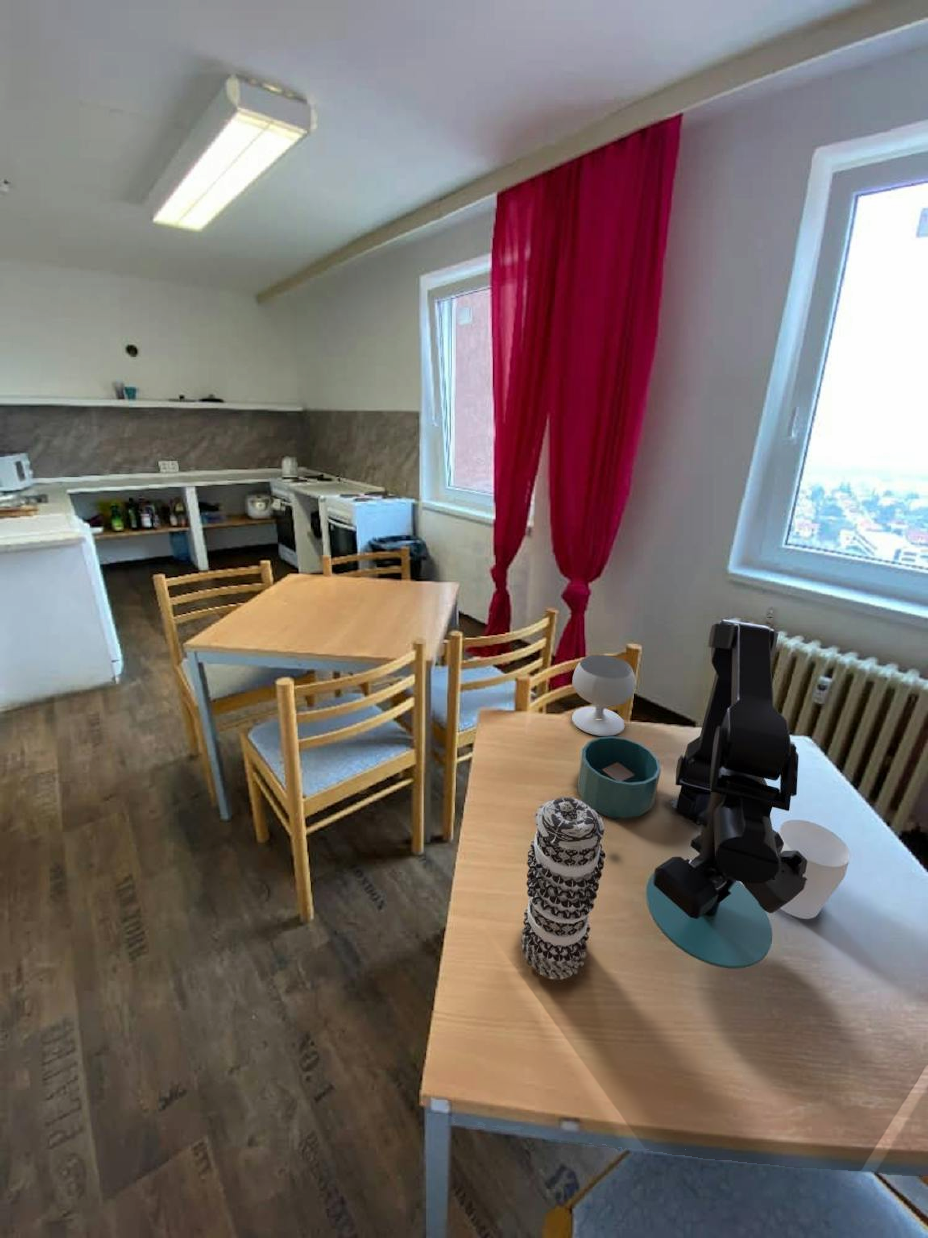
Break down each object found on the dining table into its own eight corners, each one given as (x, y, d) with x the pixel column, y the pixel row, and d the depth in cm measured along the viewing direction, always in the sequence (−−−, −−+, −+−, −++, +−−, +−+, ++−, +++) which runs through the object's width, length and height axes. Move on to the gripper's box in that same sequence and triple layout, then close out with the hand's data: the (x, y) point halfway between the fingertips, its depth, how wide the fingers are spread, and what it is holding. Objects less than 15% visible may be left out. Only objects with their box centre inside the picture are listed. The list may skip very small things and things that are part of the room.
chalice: (613, 747, 114) (622, 688, 108) (557, 724, 122) (563, 667, 116) (637, 720, 124) (647, 664, 118) (584, 700, 132) (591, 647, 126)
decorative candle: (598, 983, 67) (625, 837, 58) (529, 995, 66) (546, 847, 56) (572, 919, 76) (592, 782, 66) (511, 929, 74) (522, 790, 64)
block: (614, 780, 103) (617, 762, 102) (631, 793, 100) (635, 774, 98) (598, 787, 101) (601, 769, 100) (615, 801, 98) (619, 782, 96)
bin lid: (690, 851, 78) (698, 820, 76) (794, 931, 67) (807, 898, 64) (621, 897, 71) (627, 864, 68) (724, 998, 59) (736, 962, 57)
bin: (612, 760, 110) (617, 728, 107) (669, 801, 99) (676, 767, 96) (562, 784, 103) (566, 750, 100) (617, 830, 92) (624, 795, 89)
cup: (817, 886, 82) (840, 828, 77) (834, 937, 74) (861, 875, 69) (754, 869, 85) (773, 812, 80) (764, 917, 77) (785, 857, 72)
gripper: (755, 903, 51) (721, 1003, 57) (844, 828, 61) (807, 921, 67) (661, 829, 60) (640, 923, 66) (752, 774, 69) (726, 861, 75)
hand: (706, 907), depth 68 cm, fingers closed on bin lid, 2 cm apart
